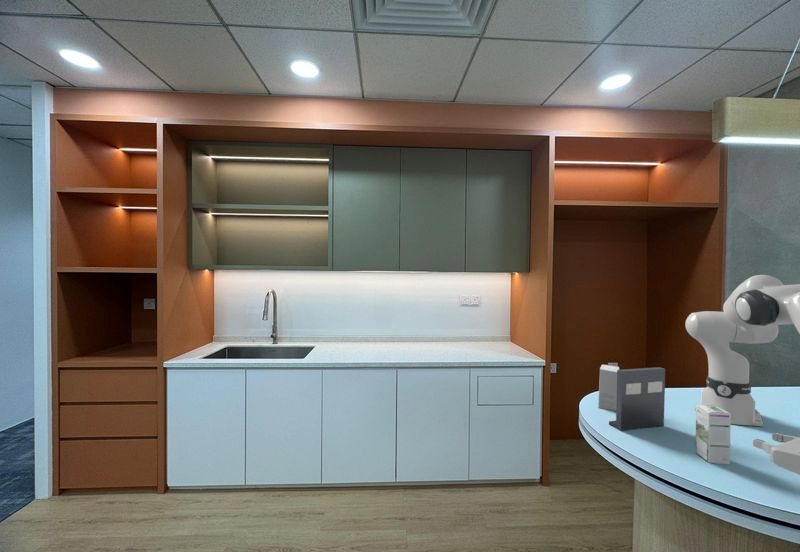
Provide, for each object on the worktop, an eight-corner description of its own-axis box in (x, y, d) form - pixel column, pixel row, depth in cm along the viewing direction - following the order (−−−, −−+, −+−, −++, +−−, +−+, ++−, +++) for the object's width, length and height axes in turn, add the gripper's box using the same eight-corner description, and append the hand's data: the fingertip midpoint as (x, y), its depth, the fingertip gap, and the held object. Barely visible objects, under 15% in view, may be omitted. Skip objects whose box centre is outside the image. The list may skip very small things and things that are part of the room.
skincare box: (600, 401, 147) (601, 363, 147) (619, 405, 143) (620, 366, 143) (597, 408, 140) (598, 368, 140) (617, 412, 136) (618, 371, 136)
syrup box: (731, 465, 99) (732, 413, 99) (707, 463, 100) (708, 411, 100) (716, 454, 105) (717, 405, 105) (694, 452, 106) (695, 404, 105)
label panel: (650, 420, 129) (651, 364, 128) (664, 426, 124) (666, 368, 123) (608, 424, 125) (610, 367, 124) (621, 431, 119) (622, 371, 119)
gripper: (866, 443, 84) (784, 420, 96) (826, 460, 76) (743, 433, 88) (865, 470, 84) (783, 444, 96) (826, 489, 76) (742, 458, 88)
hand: (764, 439), depth 92 cm, fingers open, 8 cm apart
